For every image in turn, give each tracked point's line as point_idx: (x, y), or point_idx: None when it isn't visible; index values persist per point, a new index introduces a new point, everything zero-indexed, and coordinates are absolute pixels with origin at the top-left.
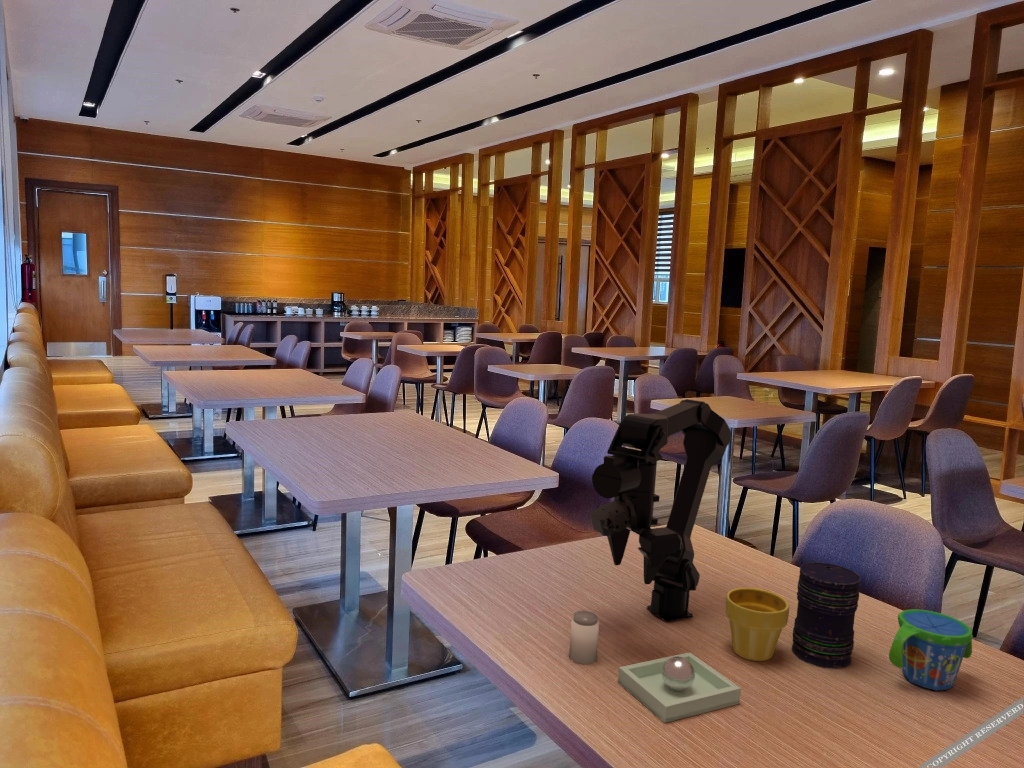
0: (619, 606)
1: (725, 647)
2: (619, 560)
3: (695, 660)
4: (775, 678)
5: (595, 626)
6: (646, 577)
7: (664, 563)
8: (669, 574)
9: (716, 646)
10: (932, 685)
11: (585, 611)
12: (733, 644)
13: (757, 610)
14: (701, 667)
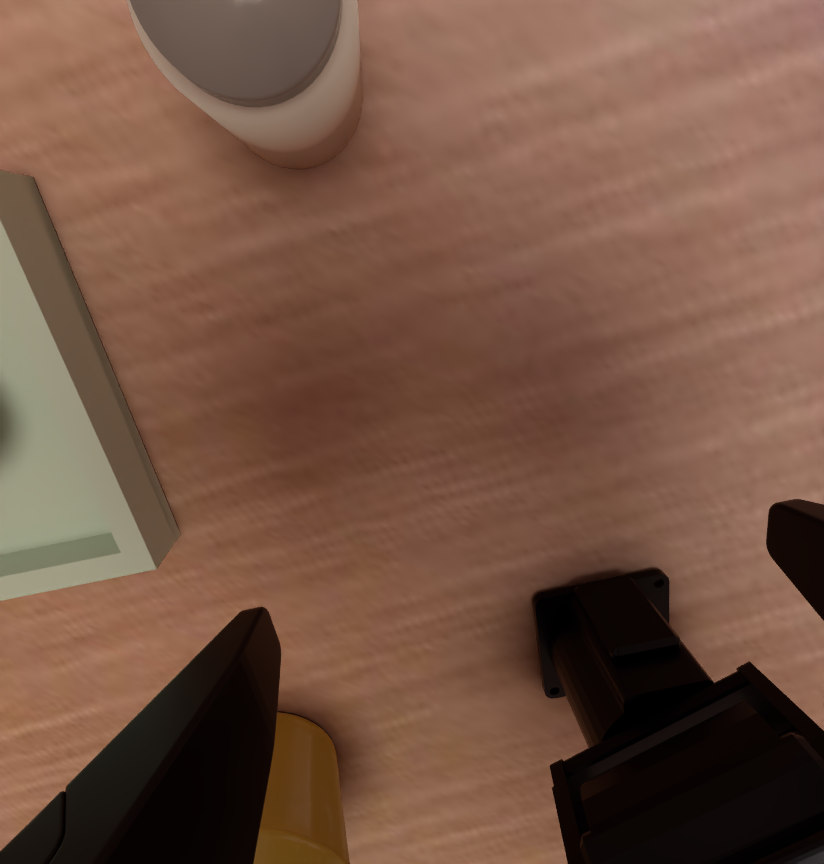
0: (724, 475)
1: (315, 698)
2: (806, 569)
3: (81, 562)
4: (99, 748)
5: (148, 51)
6: (185, 668)
7: (692, 845)
8: (620, 794)
9: (326, 677)
10: None
11: (321, 12)
12: (276, 731)
13: None
14: (42, 563)
